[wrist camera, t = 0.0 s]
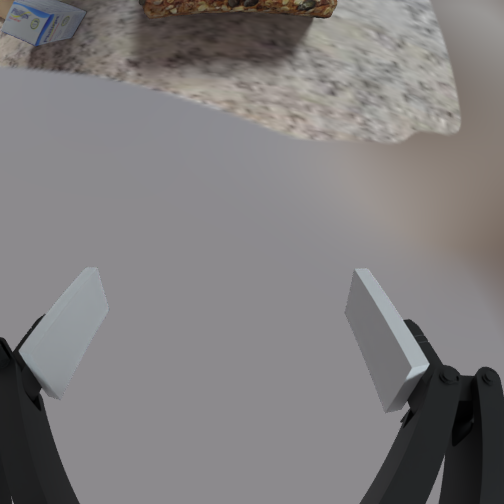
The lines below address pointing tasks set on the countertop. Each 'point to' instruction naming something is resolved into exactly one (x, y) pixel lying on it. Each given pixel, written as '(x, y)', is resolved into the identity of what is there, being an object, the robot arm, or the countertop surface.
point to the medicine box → (42, 21)
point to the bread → (238, 7)
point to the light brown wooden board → (5, 7)
